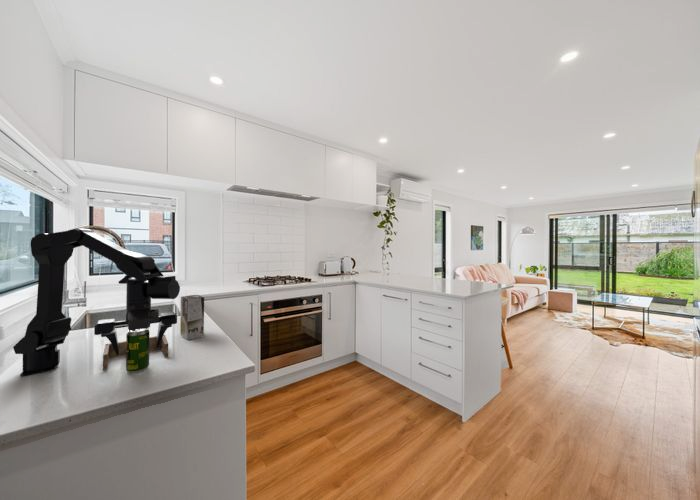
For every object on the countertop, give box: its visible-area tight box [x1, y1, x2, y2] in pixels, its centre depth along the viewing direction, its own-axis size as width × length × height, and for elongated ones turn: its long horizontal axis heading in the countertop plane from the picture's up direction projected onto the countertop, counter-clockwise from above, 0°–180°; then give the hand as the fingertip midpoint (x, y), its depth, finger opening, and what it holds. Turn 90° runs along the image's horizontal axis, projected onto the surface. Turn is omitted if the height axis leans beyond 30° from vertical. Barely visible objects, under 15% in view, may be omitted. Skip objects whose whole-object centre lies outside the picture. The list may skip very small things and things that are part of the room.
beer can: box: [125, 327, 150, 375], centre depth 79 cm, size 5×5×12 cm
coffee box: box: [179, 294, 205, 341], centre depth 110 cm, size 9×6×16 cm
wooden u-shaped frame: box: [102, 334, 169, 371], centre depth 88 cm, size 16×11×4 cm
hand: (138, 351), depth 79 cm, fingers open, 9 cm apart
